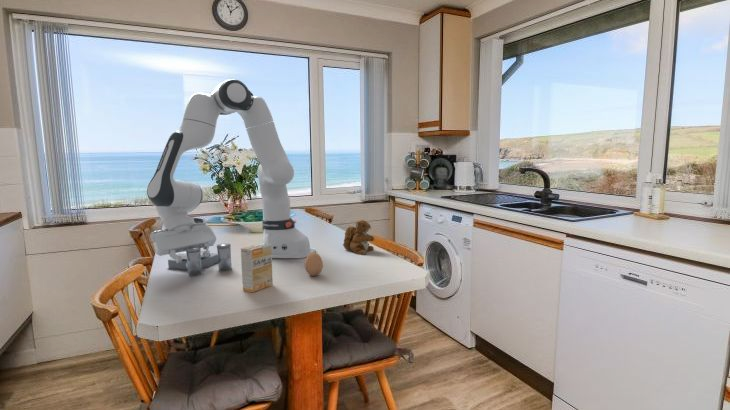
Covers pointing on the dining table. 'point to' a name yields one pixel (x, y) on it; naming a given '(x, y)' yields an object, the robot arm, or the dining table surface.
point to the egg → (313, 264)
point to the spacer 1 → (194, 261)
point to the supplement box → (256, 267)
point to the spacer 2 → (224, 257)
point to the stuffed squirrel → (358, 238)
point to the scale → (204, 262)
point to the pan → (184, 254)
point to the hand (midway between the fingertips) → (193, 258)
